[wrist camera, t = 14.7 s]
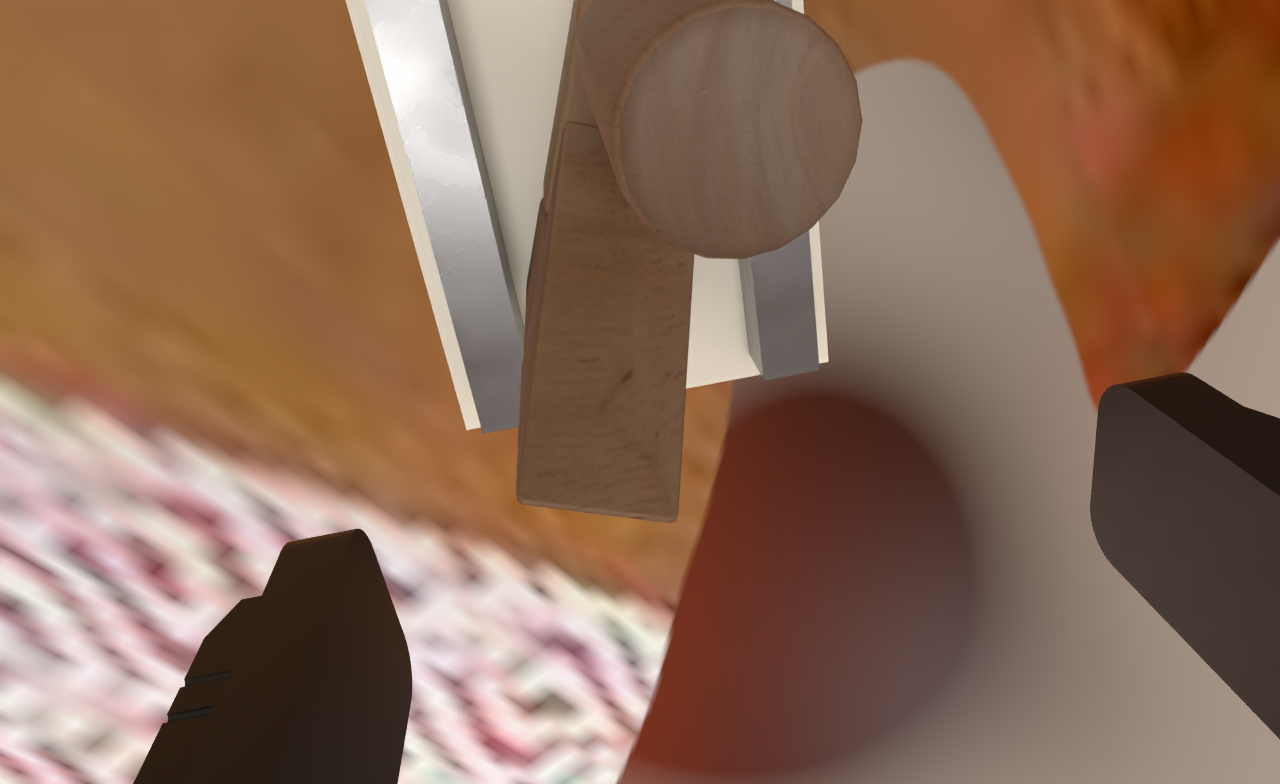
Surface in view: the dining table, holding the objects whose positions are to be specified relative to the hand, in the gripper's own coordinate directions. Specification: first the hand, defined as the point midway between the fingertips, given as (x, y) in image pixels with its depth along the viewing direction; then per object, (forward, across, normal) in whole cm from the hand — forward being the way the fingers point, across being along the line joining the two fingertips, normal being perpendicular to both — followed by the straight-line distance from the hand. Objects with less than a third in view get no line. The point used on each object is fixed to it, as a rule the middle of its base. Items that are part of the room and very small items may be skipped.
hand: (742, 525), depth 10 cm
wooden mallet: (+22, 0, 0) cm, 23 cm away
